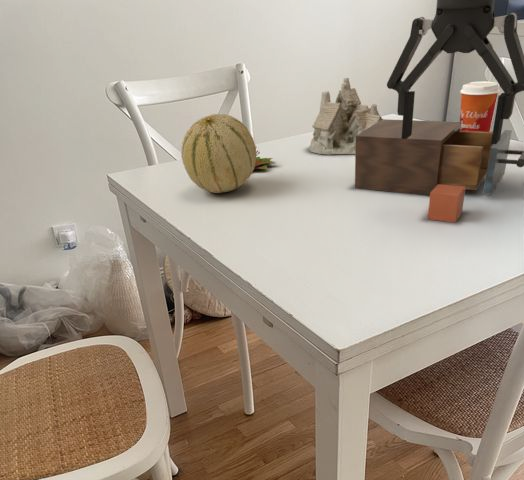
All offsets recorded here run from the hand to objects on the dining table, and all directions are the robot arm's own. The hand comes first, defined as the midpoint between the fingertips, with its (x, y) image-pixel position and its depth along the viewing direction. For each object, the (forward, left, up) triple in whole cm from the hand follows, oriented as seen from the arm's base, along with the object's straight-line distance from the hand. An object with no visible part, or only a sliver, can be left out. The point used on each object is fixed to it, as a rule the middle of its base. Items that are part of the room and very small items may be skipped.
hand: (449, 139), depth 84 cm
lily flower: (+47, -16, -12) cm, 51 cm away
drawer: (-1, -16, -11) cm, 19 cm away
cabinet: (+11, -16, -12) cm, 23 cm away
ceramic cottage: (+32, -36, -12) cm, 50 cm away
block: (-1, 0, -12) cm, 12 cm away
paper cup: (+3, -37, -12) cm, 39 cm away
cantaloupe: (+44, 0, -12) cm, 46 cm away
